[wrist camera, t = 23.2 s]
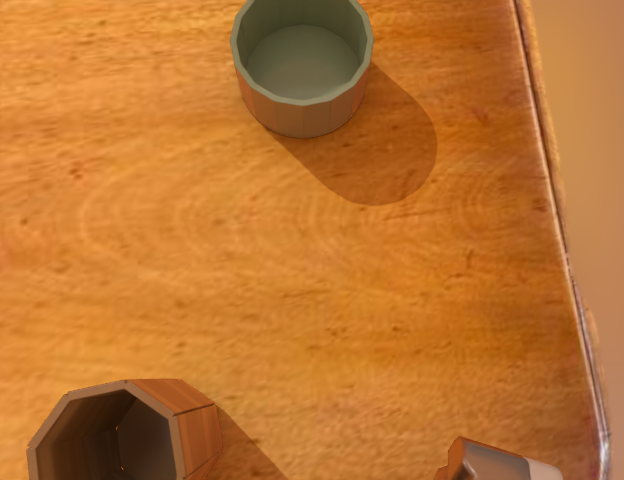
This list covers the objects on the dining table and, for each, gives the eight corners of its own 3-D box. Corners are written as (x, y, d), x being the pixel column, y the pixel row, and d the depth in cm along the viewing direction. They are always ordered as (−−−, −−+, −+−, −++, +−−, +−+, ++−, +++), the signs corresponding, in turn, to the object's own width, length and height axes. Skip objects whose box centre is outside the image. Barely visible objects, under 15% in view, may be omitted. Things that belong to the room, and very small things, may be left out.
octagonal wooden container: (242, 420, 36) (212, 438, 25) (180, 516, 34) (120, 580, 24) (156, 361, 36) (92, 354, 26) (92, 453, 35) (-4, 487, 24)
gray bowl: (389, 63, 41) (399, 20, 36) (321, 161, 39) (323, 131, 34) (285, 3, 42) (282, -46, 37) (215, 97, 40) (202, 58, 35)
